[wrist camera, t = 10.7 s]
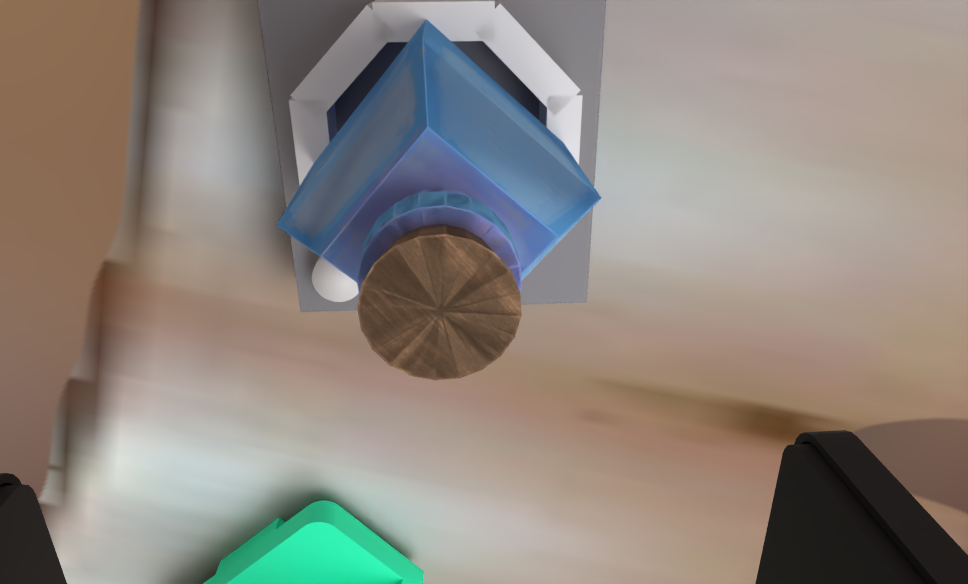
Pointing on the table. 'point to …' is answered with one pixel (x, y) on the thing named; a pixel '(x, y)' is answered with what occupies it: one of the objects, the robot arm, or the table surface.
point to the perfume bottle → (439, 209)
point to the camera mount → (316, 553)
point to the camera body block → (485, 40)
